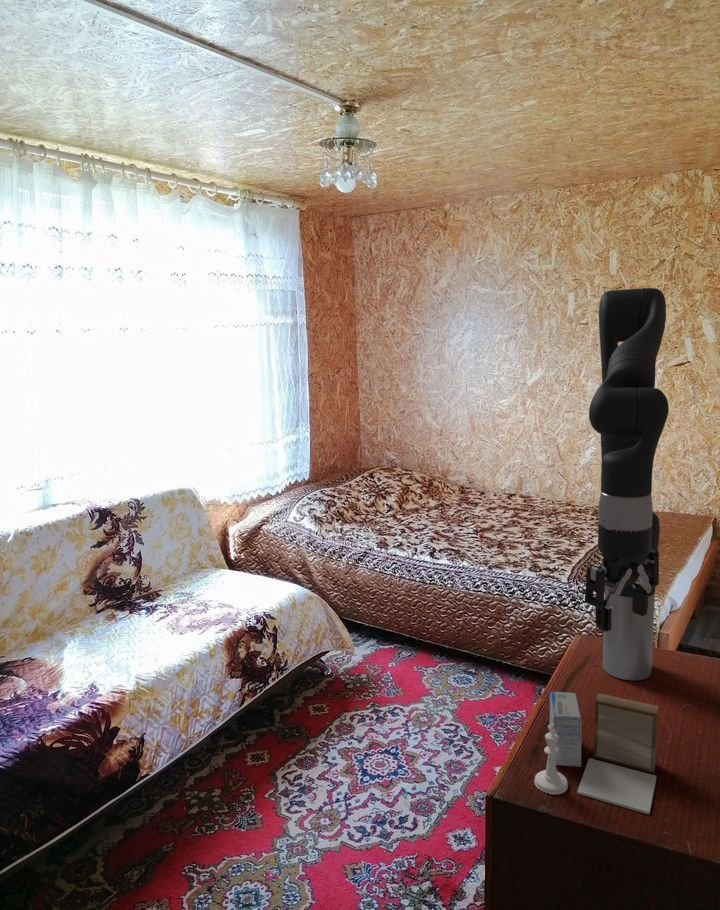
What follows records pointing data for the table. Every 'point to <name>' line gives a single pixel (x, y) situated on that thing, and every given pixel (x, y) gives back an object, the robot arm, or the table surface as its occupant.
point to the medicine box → (566, 727)
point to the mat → (618, 785)
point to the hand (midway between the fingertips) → (621, 621)
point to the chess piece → (551, 768)
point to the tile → (626, 732)
